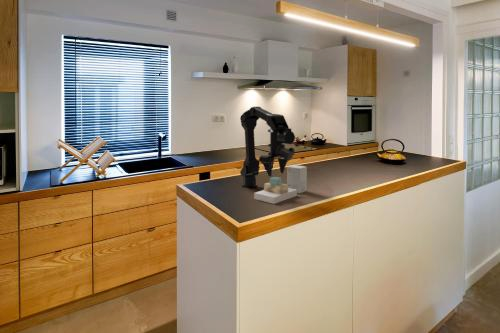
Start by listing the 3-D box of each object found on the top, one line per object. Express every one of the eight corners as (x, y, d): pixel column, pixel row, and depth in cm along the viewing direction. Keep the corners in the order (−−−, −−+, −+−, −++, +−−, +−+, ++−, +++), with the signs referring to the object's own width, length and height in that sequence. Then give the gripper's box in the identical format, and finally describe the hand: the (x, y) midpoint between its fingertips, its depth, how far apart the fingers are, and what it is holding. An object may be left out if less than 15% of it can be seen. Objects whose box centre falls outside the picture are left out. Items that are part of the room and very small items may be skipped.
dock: (253, 198, 151) (253, 192, 150) (277, 191, 164) (277, 185, 163) (273, 203, 143) (274, 197, 142) (296, 195, 155) (297, 189, 155)
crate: (269, 184, 152) (269, 178, 151) (274, 182, 155) (274, 176, 154) (276, 185, 149) (276, 179, 149) (281, 184, 152) (281, 177, 151)
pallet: (263, 190, 154) (264, 183, 153) (271, 188, 158) (271, 181, 157) (280, 194, 147) (280, 187, 146) (288, 191, 151) (288, 184, 151)
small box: (306, 191, 163) (307, 166, 161) (299, 193, 159) (300, 168, 156) (293, 188, 169) (294, 164, 166) (286, 191, 164) (286, 166, 162)
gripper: (277, 145, 136) (277, 180, 139) (302, 141, 149) (301, 173, 152) (258, 143, 143) (258, 177, 146) (283, 140, 157) (282, 170, 160)
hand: (276, 174), depth 151 cm, fingers open, 9 cm apart
